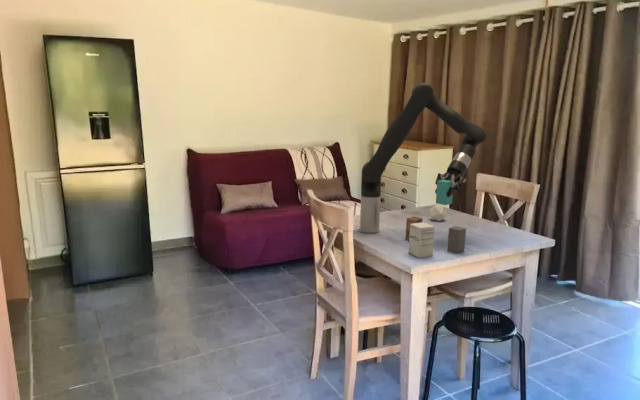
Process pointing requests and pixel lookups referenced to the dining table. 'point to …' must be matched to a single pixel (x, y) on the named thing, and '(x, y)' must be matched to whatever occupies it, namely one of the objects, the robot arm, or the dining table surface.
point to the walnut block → (411, 221)
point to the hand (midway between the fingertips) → (442, 194)
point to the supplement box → (421, 239)
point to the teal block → (443, 192)
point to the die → (437, 213)
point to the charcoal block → (456, 239)
